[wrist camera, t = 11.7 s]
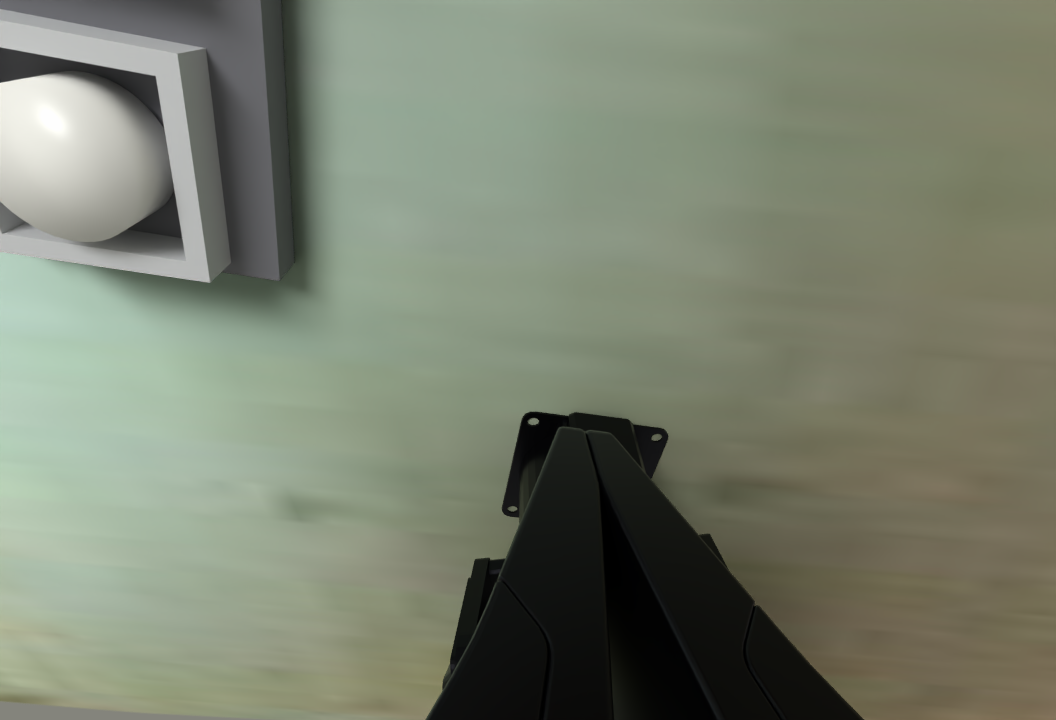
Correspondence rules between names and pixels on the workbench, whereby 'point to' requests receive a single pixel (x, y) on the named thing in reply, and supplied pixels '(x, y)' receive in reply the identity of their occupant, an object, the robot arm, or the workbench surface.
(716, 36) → the workbench surface
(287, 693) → the workbench surface
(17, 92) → the button white
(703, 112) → the workbench surface
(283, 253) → the control board
